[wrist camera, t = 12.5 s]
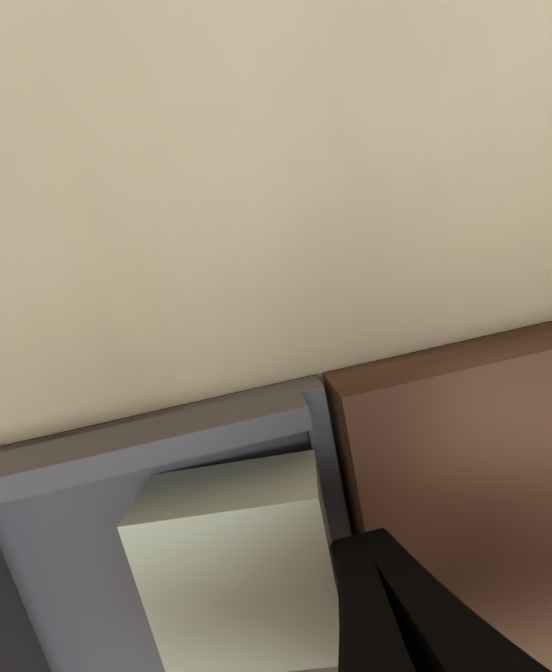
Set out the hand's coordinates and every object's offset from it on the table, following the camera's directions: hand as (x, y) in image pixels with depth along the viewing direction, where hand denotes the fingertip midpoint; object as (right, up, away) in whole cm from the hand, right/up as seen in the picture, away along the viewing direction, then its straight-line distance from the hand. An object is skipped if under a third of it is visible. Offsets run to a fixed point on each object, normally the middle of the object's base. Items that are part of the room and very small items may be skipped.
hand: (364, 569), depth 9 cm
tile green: (-3, 0, +2) cm, 3 cm away
